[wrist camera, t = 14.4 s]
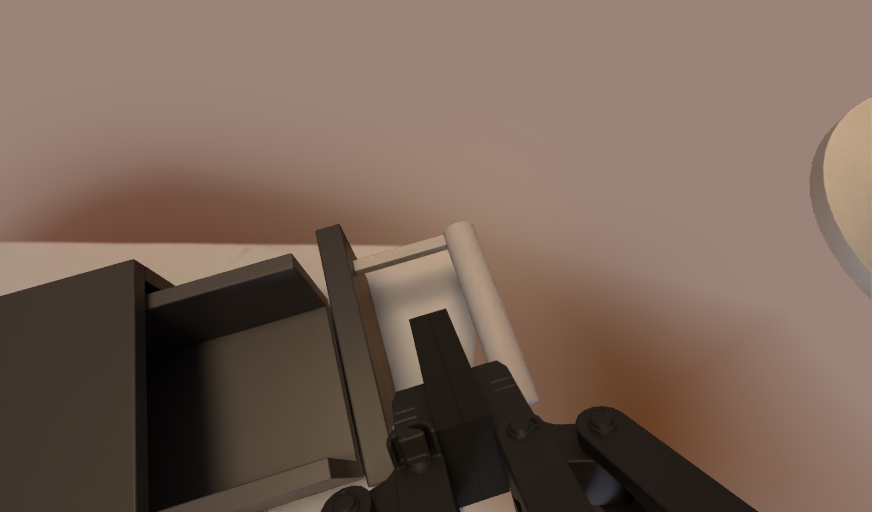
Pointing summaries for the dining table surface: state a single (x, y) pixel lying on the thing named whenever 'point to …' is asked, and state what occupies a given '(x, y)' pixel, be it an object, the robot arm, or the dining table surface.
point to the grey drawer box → (76, 393)
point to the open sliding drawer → (288, 375)
